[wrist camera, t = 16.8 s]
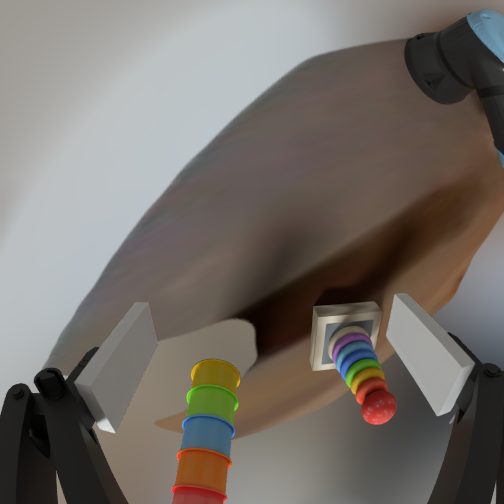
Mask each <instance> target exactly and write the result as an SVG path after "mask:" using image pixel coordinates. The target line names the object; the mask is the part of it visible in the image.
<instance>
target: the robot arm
mask: <svg viewBox="0 0 504 504" xmlns="http://www.w3.org/2000/svg"><path fill="white" fill-rule="evenodd" d="M405 61H406V65H407V68H408V70H409V72H410V74H411V76H412V78H413V80H414V81H415V83H416V84H417V85H418V87H419V88H420V89H421V90H422V91H423V92H424V93H425V94H426V95H427V96H428V97H430V98H431V99H433V100H434V101H436V102H438V103H441V104H447V105H448V104H454V103H458V102H460V101H462V100H463V99H464V98H465V97H466V96H467V95H468V94H469V93H470V92H471V91H472V90H473V89H476V90H477V92H478V95H479V98H480V100H481V103H482V105H483V108H484V111H485V114H486V117H487V120H488V123H489V126H490V129H491V132H492V135H493V139H494V146H495V148H496V150H497V153H498V156H499V160H500V163H501V165H502V167H503V168H504V17H503V16H502V15H501V14H499V13H497V12H496V11H493V10H490V9H482V10H479V11H476V12H474V13H470V14H468V15H467V16H466V17H464V18H462V19H460V20H459V21H457V22H455V23H454V24H452V25H450V26H449V27H447V28H445V29H444V30H442V31H440V32H431V33H422V34H418V35H416V36H415V37H413V38H412V39H410V40H409V41H408V43H407V44H406V47H405ZM386 337H387V339H388V340H389V342H390V343H391V345H392V346H393V348H394V349H395V351H396V352H397V353H398V355H399V356H400V358H401V359H402V361H403V362H404V364H405V365H406V367H407V369H408V370H409V372H410V373H411V374H412V376H413V378H414V379H415V381H416V383H417V384H418V386H419V387H420V389H421V390H422V392H423V393H424V395H425V397H426V399H427V400H428V402H429V403H430V405H431V407H432V408H433V410H434V412H435V413H436V415H437V416H439V415H442V414H445V413H447V412H450V411H451V409H452V407H453V406H454V404H455V402H456V403H457V404H458V406H459V407H458V409H457V411H456V412H455V414H454V416H453V417H452V419H451V421H450V423H449V424H451V423H452V422H453V420H454V424H453V428H452V433H451V436H450V440H449V444H448V448H447V451H446V454H445V458H444V461H443V464H442V467H441V470H440V473H439V475H438V478H437V481H436V484H435V486H434V489H433V491H432V494H431V496H430V498H429V501H428V503H427V504H490V503H491V500H492V496H493V492H494V487H495V483H496V504H504V371H501V369H500V368H499V367H498V366H496V365H494V364H491V363H485V364H482V363H481V362H480V361H479V360H478V358H476V356H475V355H474V354H473V353H472V352H471V351H470V350H469V349H467V347H466V346H465V345H464V344H463V343H462V342H461V341H460V340H459V339H458V337H456V336H454V335H452V334H451V333H449V332H448V333H446V332H445V331H444V330H443V329H442V328H441V327H440V326H439V325H438V323H437V322H435V320H434V319H432V318H431V317H430V316H429V315H428V314H427V313H426V312H425V311H424V310H423V309H422V308H421V307H420V306H419V305H418V304H417V303H416V302H415V301H414V300H413V299H412V298H411V297H410V296H409V295H408V294H407V293H401V294H395V295H394V300H393V305H392V311H391V315H390V320H389V325H388V329H387V334H386ZM157 346H158V342H157V338H156V334H155V330H154V325H153V321H152V316H151V312H150V307H149V302H135V304H134V305H133V306H132V307H131V309H130V310H129V311H128V312H127V314H126V315H125V316H124V317H123V319H122V320H121V321H120V322H119V324H118V325H117V326H116V327H115V329H114V330H113V331H112V332H111V334H110V335H109V336H108V338H107V339H106V340H105V341H104V343H103V344H102V345H101V347H100V348H99V347H94V348H93V349H91V350H90V351H89V352H87V353H86V354H85V356H84V357H83V358H82V361H80V362H79V363H78V366H76V367H75V369H74V370H73V371H72V373H71V374H70V375H69V377H68V378H67V379H66V381H65V379H64V377H63V375H62V373H61V371H60V370H58V369H57V368H46V369H44V370H41V371H40V372H39V373H38V374H37V375H36V376H35V378H34V383H35V385H36V387H37V389H38V391H39V392H40V393H32V392H31V390H30V389H29V387H28V386H27V385H26V384H22V383H20V384H16V385H13V386H12V387H11V388H10V389H9V390H8V392H7V394H6V397H5V401H4V404H3V407H2V411H1V415H0V504H58V498H57V484H56V471H57V474H58V478H59V481H60V484H61V487H62V490H63V493H64V496H65V499H66V502H67V504H128V502H127V500H126V498H125V497H124V495H123V493H122V491H121V489H120V487H119V485H118V483H117V482H116V479H115V478H114V475H113V473H112V472H111V469H110V467H109V465H108V463H107V460H106V458H105V456H104V453H103V451H102V449H101V446H100V444H99V441H98V439H97V436H96V434H95V431H94V430H93V428H92V426H93V424H94V422H95V421H96V423H97V424H98V426H99V427H100V429H101V430H105V431H109V432H112V433H116V432H117V430H118V428H119V425H120V423H121V421H122V419H123V416H124V415H125V412H126V410H127V408H128V406H129V404H130V402H131V399H132V397H133V395H134V393H135V391H136V389H137V387H138V385H139V383H140V381H141V378H142V377H143V374H144V372H145V370H146V368H147V366H148V364H149V362H150V360H151V358H152V356H153V354H154V352H155V350H156V348H157Z"/></svg>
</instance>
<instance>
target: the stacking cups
mask: <svg viewBox="0 0 504 504" xmlns="http://www.w3.org/2000/svg"><path fill="white" fill-rule="evenodd" d="M191 377H192V380H193V383H192V387H191V389H190V390H189V392H188V393H187V402H188V404H189V406H188V410H187V416H186V418H185V419H184V420H183V423H182V427H183V429H184V434H183V439H182V445H181V450H180V451H178V453H177V458H178V460H179V465H178V470H177V476H176V482H175V485H174V486H173V487H172V488H171V489H172V491H173V493H174V497H173V502H172V504H223V501H225V500H226V499H227V496H226V495H225V491H226V479H227V469H228V468H229V467H230V466H231V465H232V462H231V459H230V447H231V438H232V437H233V436H234V434H235V428H234V426H233V422H234V411H235V410H236V409H237V407H238V398H237V396H236V389H237V387H238V385H239V384H240V379H241V377H240V373H239V371H238V370H237V369H236V368H235V367H234V366H233V365H232V364H230V363H228V362H225V361H223V360H219V359H207V360H202V361H200V362H198V363H197V364H196V365H195V366H194V367H193V369H192V372H191Z"/></svg>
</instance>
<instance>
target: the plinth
mask: <svg viewBox="0 0 504 504" xmlns="http://www.w3.org/2000/svg"><path fill="white" fill-rule="evenodd" d="M381 316H382V310H381V309H380V308H379V306H378V305H377V304H376V303H375V302H374V301H372V302H362V303H350V304H338V305H324V306H314V308H313V322H312V335H311V346H310V356H309V359H310V363H311V366H312V370H313V371H317V370H326V369H335V368H336V365H335V364H334V362H333V360H332V359H331V358H330V357H329V354H328V344H329V341H330V339H331V338H332V337H333V335H334V334H335V333H337V332H338V331H339V330H341V329H343V328H345V327H349V326H358V327H361V328H363V329H364V330H366V332H367V333H368V335H369V338H370V339H371V341H372V344H373V349H375V345H376V340H377V336H378V331H379V326H380V321H381Z"/></svg>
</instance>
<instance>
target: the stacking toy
mask: <svg viewBox="0 0 504 504" xmlns="http://www.w3.org/2000/svg"><path fill="white" fill-rule="evenodd" d="M328 354H329V357H330V358H331V359H332V360H333V362H334V364H335V365H336V368H337V370H338V371H339V372H340V374H341V376H342V378H343V379H344V380H345V381H346V384H347V385H348V386H349V387H350V388H351V391H352V392H353V393H354V394H355V397H356V400H357V402H358V403H360V404H362V408H361V411H362V416H363V418H364V419H365V420H366V421H367V422H369V423H371V424H382V423H384V422H387V421H388V420H389V419H391V417H392V416H393V415H394V413H395V411H396V400H395V398H394V396H393V395H392V394H391V393H389V392H387V384H386V382H385V381H384V377H385V376H384V373H383V371H382V370H381V366H380V364H379V363H378V359H377V356H376V355H375V351H374V349H373V344H372V341H371V339H370V338H369V335H368V333H367V332H366V330H364V329H363V328H361V327H358V326H349V327H345V328H343V329H341V330H339V331H338V332H337V333H335V334H334V335H333V337H332V338H331V339H330V341H329V344H328Z"/></svg>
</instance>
